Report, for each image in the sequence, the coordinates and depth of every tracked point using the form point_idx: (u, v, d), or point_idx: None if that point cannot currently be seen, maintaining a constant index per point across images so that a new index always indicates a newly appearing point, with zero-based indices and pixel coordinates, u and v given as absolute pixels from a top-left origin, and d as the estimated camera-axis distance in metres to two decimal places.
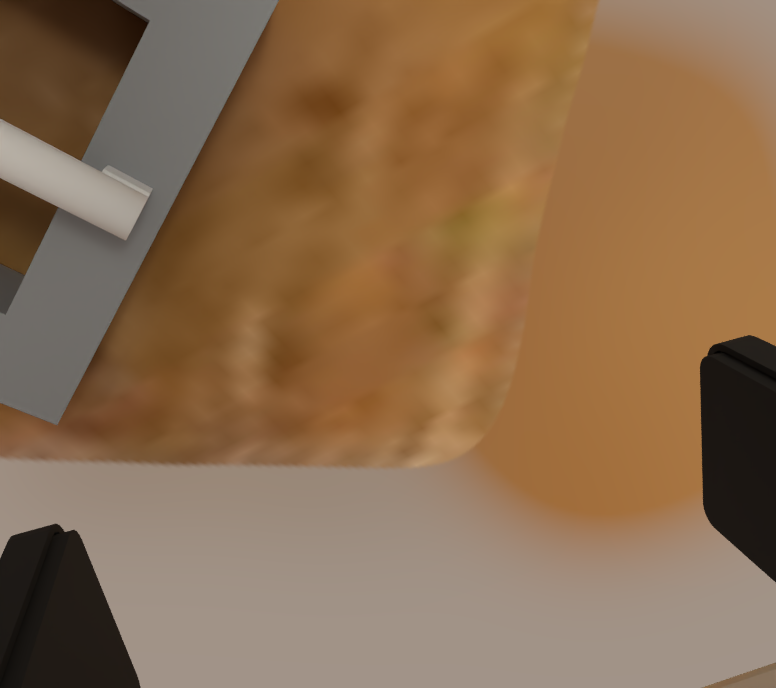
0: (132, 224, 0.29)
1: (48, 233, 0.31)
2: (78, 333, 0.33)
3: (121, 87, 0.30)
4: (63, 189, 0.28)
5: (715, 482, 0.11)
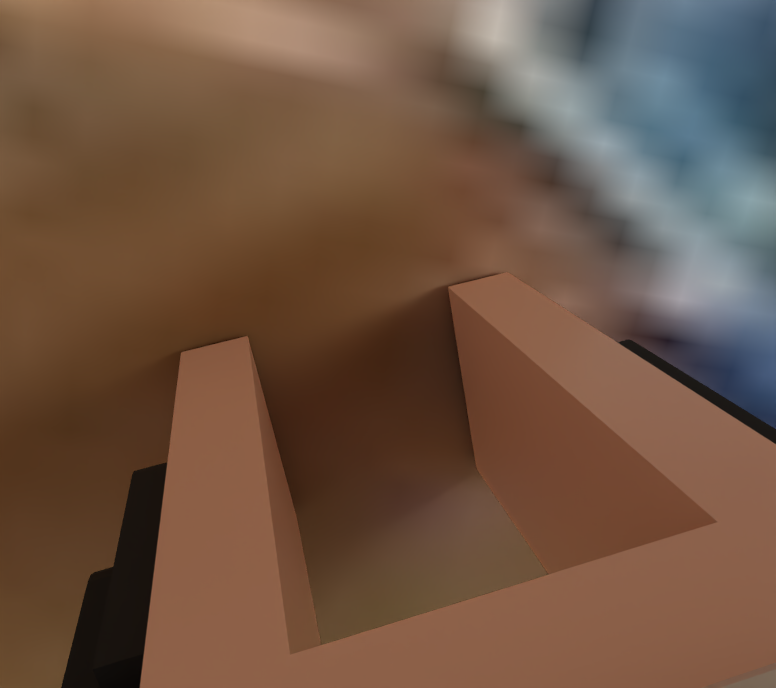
0: None
1: None
2: None
3: None
4: None
5: None
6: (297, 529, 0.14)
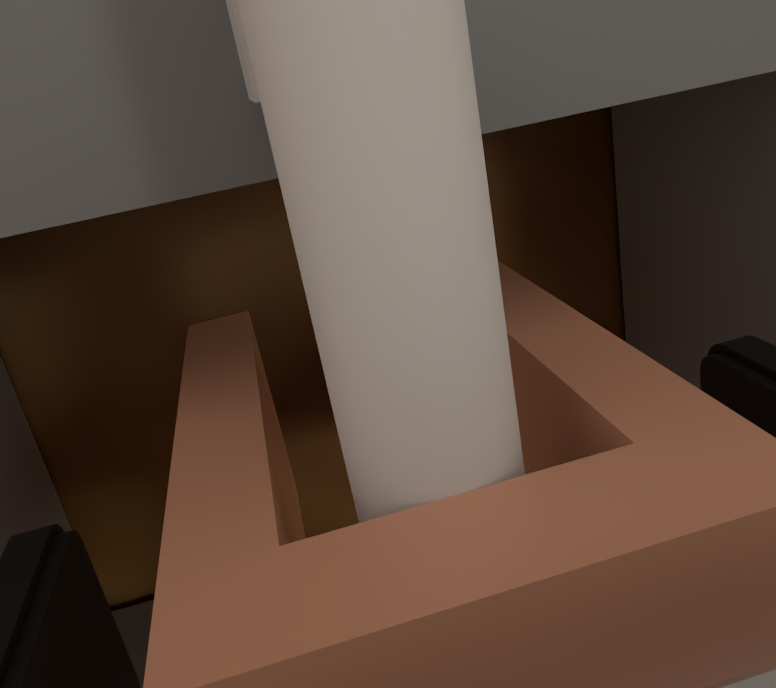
0: None
1: None
2: None
3: None
4: None
5: None
6: (294, 487, 0.15)
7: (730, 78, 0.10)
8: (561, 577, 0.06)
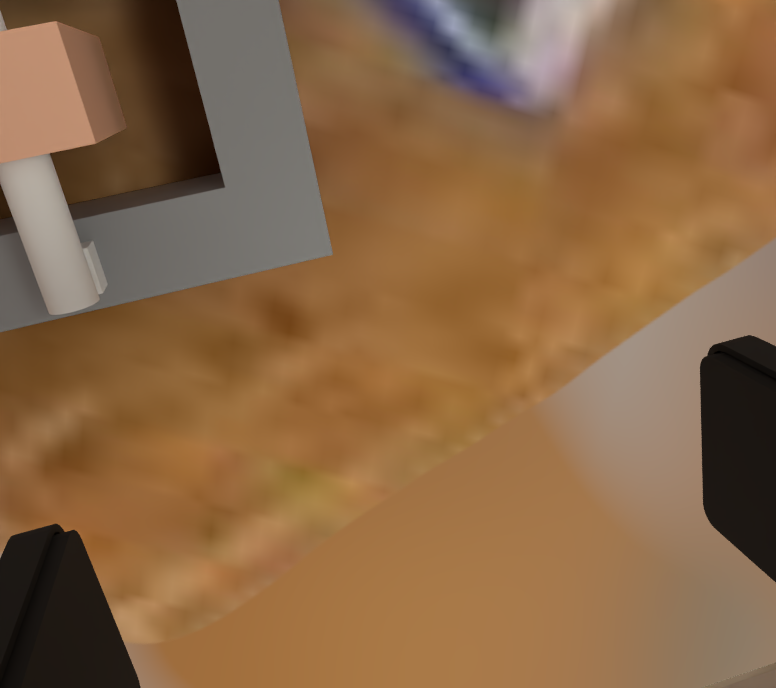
0: (67, 311, 0.29)
1: None
2: None
3: (159, 205, 0.32)
4: (42, 245, 0.28)
5: (715, 481, 0.11)
6: None
7: None
8: None
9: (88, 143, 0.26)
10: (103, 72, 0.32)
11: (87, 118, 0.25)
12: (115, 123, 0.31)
